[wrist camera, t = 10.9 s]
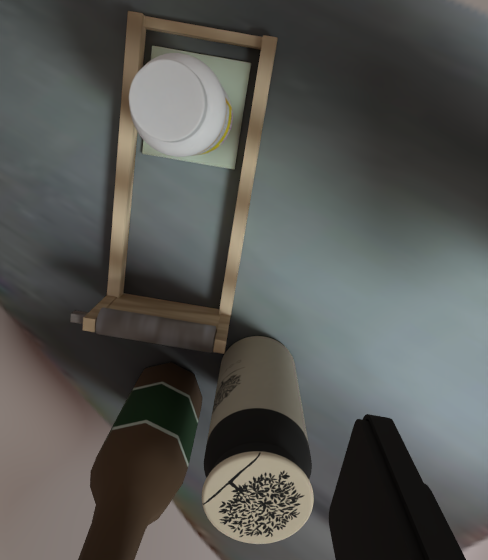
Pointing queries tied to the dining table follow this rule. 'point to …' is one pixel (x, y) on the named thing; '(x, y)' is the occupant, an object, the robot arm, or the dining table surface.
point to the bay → (234, 79)
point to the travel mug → (257, 446)
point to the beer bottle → (142, 461)
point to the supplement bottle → (180, 106)
